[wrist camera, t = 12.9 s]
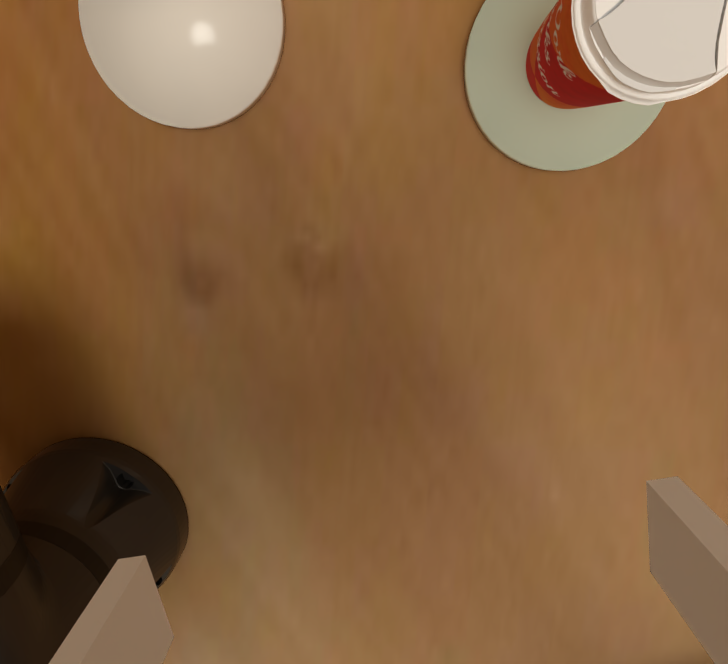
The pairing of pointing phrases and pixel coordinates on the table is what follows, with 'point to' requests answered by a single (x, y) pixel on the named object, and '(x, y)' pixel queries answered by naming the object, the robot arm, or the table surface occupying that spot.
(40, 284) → the table surface
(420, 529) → the table surface
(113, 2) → the white dish
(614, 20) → the paper cup
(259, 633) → the table surface
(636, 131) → the sage dish
